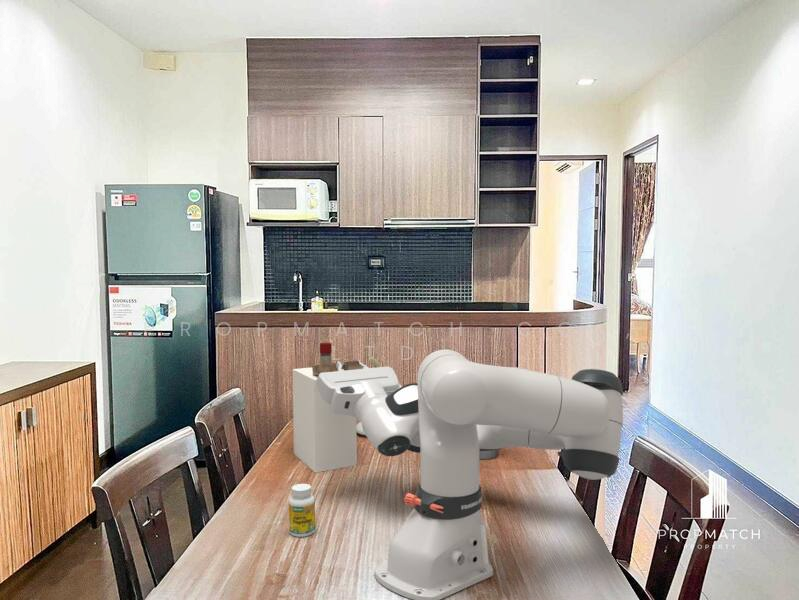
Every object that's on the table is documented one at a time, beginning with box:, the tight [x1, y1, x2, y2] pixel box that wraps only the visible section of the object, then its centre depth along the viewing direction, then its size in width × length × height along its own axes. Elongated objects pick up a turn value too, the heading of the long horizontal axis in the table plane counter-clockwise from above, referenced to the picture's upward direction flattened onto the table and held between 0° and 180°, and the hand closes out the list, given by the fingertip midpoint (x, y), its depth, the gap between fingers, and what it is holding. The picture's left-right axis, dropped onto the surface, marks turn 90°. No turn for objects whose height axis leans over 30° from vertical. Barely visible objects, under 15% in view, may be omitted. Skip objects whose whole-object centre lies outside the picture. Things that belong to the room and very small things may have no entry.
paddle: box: [312, 360, 360, 375], centre depth 157 cm, size 20×7×2 cm, turn 29°
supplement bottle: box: [288, 483, 316, 538], centre depth 125 cm, size 5×5×10 cm
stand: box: [292, 367, 358, 474], centre depth 170 cm, size 18×12×25 cm, turn 28°
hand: (347, 362), depth 152 cm, fingers closed on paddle, 3 cm apart
